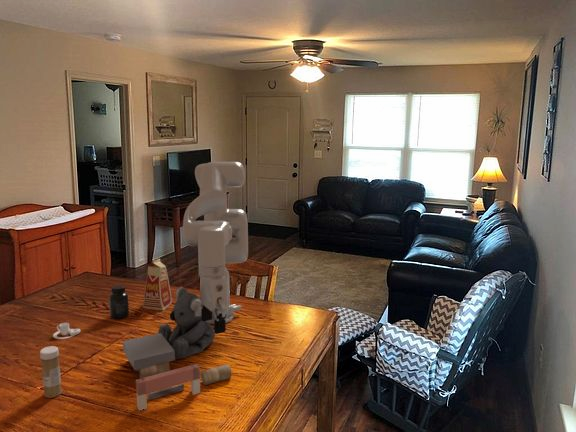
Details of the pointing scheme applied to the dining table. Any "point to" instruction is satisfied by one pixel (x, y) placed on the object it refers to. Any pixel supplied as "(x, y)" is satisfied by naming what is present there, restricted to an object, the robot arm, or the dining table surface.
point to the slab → (148, 351)
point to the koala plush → (187, 326)
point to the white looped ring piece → (65, 331)
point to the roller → (215, 374)
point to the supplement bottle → (119, 303)
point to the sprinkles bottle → (51, 371)
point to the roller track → (157, 370)
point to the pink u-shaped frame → (167, 382)
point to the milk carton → (157, 287)
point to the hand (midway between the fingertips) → (213, 326)
